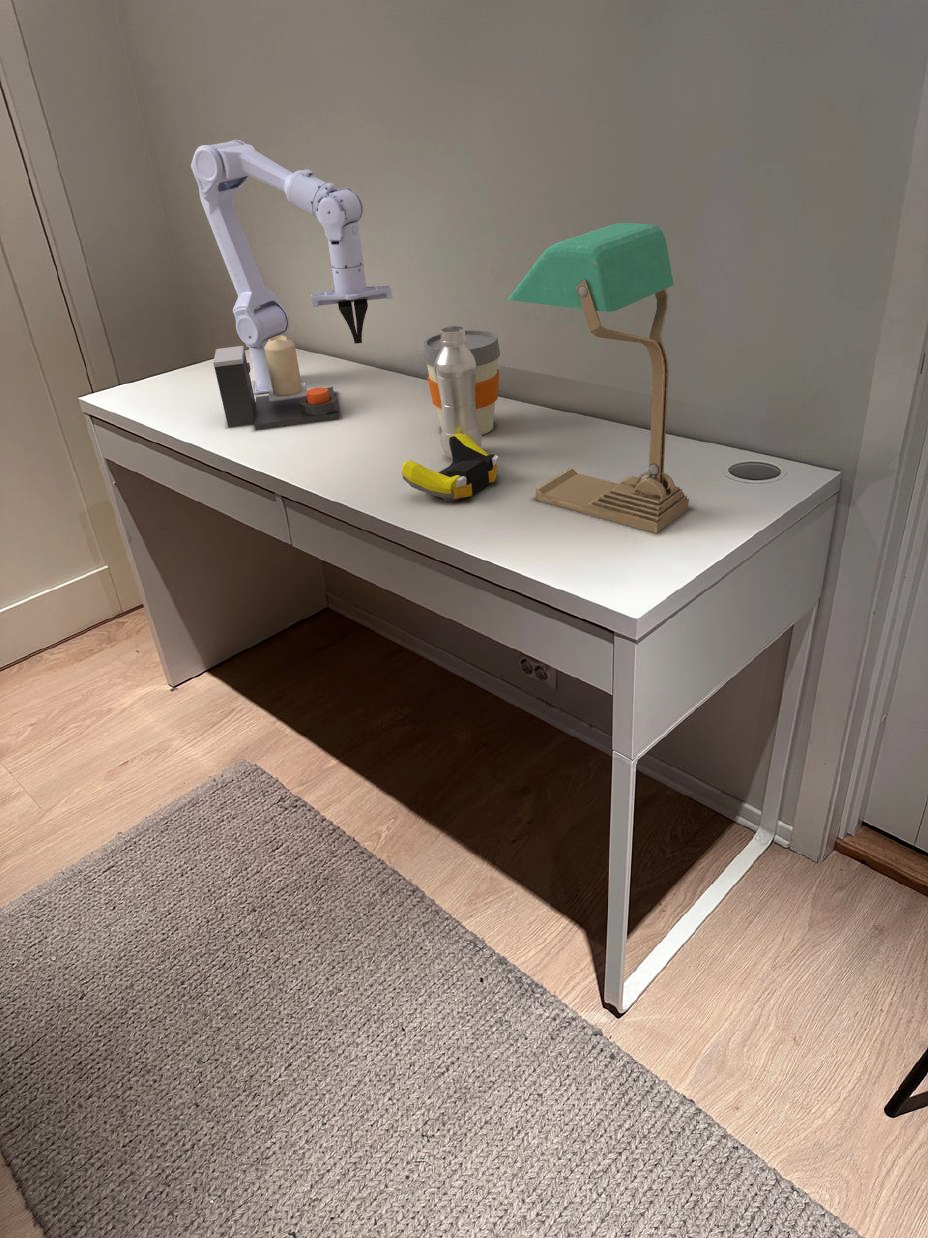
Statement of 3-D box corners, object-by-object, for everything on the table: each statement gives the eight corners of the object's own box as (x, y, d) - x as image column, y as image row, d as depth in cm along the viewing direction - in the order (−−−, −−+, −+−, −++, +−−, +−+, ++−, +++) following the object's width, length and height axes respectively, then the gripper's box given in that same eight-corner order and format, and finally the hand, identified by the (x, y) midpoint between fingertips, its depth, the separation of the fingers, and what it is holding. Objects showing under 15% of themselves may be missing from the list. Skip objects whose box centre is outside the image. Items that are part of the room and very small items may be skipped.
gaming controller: (398, 498, 128) (452, 512, 123) (394, 463, 125) (449, 476, 120) (459, 461, 138) (511, 473, 133) (456, 428, 135) (510, 438, 130)
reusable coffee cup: (518, 428, 148) (514, 339, 140) (455, 447, 143) (447, 356, 135) (478, 409, 158) (472, 325, 149) (418, 427, 152) (408, 340, 144)
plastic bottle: (491, 453, 140) (483, 326, 129) (463, 467, 136) (452, 337, 125) (462, 445, 144) (452, 320, 133) (433, 458, 140) (421, 331, 129)
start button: (307, 399, 162) (305, 388, 160) (329, 396, 162) (327, 386, 161) (308, 406, 158) (306, 395, 157) (330, 403, 159) (328, 392, 158)
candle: (299, 394, 162) (290, 340, 157) (270, 396, 162) (259, 342, 157) (304, 385, 167) (295, 332, 161) (276, 387, 167) (266, 334, 162)
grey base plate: (257, 402, 171) (253, 387, 169) (335, 392, 172) (333, 377, 171) (255, 430, 157) (252, 414, 156) (341, 419, 159) (338, 403, 157)
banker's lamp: (641, 544, 111) (652, 251, 92) (512, 507, 123) (498, 240, 104) (701, 498, 121) (722, 224, 102) (575, 468, 133) (573, 217, 114)
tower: (230, 409, 168) (216, 346, 162) (308, 399, 170) (297, 336, 164) (228, 427, 160) (213, 362, 153) (310, 416, 161) (298, 351, 155)
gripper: (306, 273, 152) (319, 352, 159) (389, 264, 153) (398, 343, 161) (306, 266, 158) (319, 341, 165) (386, 257, 159) (395, 333, 166)
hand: (358, 341), depth 163 cm, fingers closed
